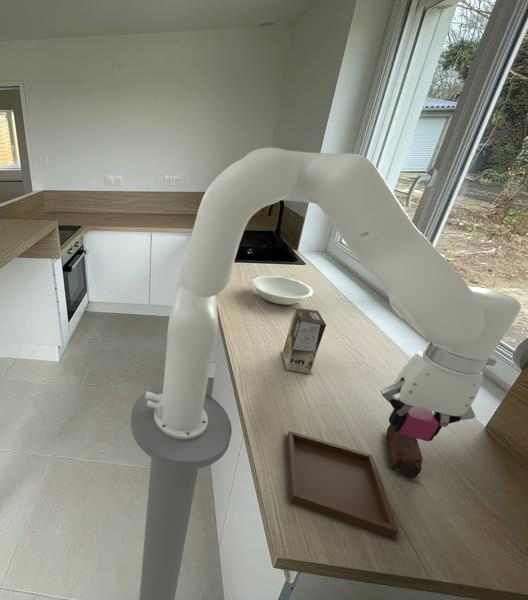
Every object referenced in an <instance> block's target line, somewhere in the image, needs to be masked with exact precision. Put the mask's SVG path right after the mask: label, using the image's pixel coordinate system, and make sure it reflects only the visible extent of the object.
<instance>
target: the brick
mask: <svg viewBox="0 0 528 600" xmlns="http://www.w3.org/2000/svg"><path fill="white" fill-rule="evenodd" d="M385 438H386V446H387V447H386V448H387V452H388V457H389V463H390V468H391V469H392V470H393V471H396V472H399V473H402V474H404V475H407V476H408V477H409V478H411V479H415V478H418V475H419V474H420V473H421V472H422V463H423V461H424V459H423V455H422V451H421V449H420V446H419V445H420V444H419V442H418V439H417V438H413V437H410V436H406V435H402V434H400V432H399V431H398V432H396V431H394V430H393V427H392V425H391V424H390V423H389V425H388V427H387V429H386V436H385Z"/></svg>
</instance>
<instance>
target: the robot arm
mask: <svg viewBox="0 0 528 600" xmlns="http://www.w3.org/2000/svg"><path fill="white" fill-rule="evenodd" d="M281 201H289V202H297V203H298V202H299V203H309V204H315V205H317V206H318V207H319V208H320V210H321V211H322V212H323V214H324V216H326V218H327V219H328V221H329V222H330V223H331V225H332V226H333V227H334V229H335V230H336V231H337V234H339V236H340V237H341V239H342V240H343V241H344V243H345V244H346V246H347V247H348V249H349V250H350V251H351V253H352V254H353V256H354V257H355V258H356V259H357V260H358V261H359V263H360V264H361V265H362V267H364V268H365V269H366V270H367V271H368V272H370V274H372V275H373V276H374V277H376V278H377V279H378V280H379V281H380V282H382V284H383V285H384V286H386V288H388V289H389V290H390V292H389V294H388V295H389V296H388V301H389V304H390V306H391V308H392V309H393V311H394V312H395V313H396V314H397V315H398V316H399V317H401V318H402V319H403V320H404V321H405V322H406V323H408V324H409V325H410V326H411V327H412V328H414V330H416V331H417V332H418V333H420V335H421V336H423V338H424V339H426V340H427V341H428V343H427V345H426V347H425V349H424V350H423V351H421V350H418V351H417V352H416V353H415V354H414V355H412V357H411V358H410V359H408V361H407V362H406V364H405V365H404V366H403V368H402V369H401V371H399V373H398V375H397V377H396V378H395V380H394V381H393V384H391V385H389V386H387V387H384V388H382V389H381V390H380V393H381V395H382V397H383V398H384V399H385V400H386V401H387V402H388V403H389V404H390V405H391V406H392V408H393V410H392V411H391V414H390V415H389V417H388V423H389V425H390V424H391V425H392V427H393V430H394V431H396V432H398V431H399V430H400V429H401V427H402V425H403V423H404V422H405V420H406V416H405V414H406V413H407V412H408V411H409V410H410V409H412V408H413V407H414V406H415V407H419V408H423V409H427V410H431V412H433V415H434V416H435V418H436V420H437V421H438V423H439V426H438V428H437V429H436V431H435V432H434V434H433V436H432V437H431V439H430V440H429V442H433V440H434V438H435V437H436V436H438V435H439V432H440V431H441V429H442V428H446V427H448V426H449V425H450V424H454V423H457V422H460V421H461V420H462V421H465V420H471V419H475V418H476V413H475V412H474V410H473V407H472V404H473V402H475V399H476V398H477V395H478V393H479V391H480V388H481V385H482V382H483V378H484V371H483V370H484V369H485V367H486V366H493V367H494V366H495V365H496V363H497V359H496V358H495V357H491V356H492V355H493V353H494V352H495V351H496V349H497V347H498V346H499V344H500V343H501V341H502V340H503V338H504V337H505V335H506V334H507V332H508V330H509V329H510V327H511V326H512V324H513V323H514V321H515V320H516V318H518V316H519V313H520V311H521V308H522V306H521V303H520V301H518V299H517V298H515V297H514V296H511V295H509V294H507V293H504V292H501V291H498V290H493V289H489V288H485V287H478V286H477V287H476V286H473V287H471V286H468V284H467V283H466V282H465V279H463V278H462V276H461V274H459V273H458V271H457V270H456V269H455V268H454V267H453V266H452V265H451V264H450V263H449V261H448V260H447V259H446V258H445V257H444V256H443V255H442V254H441V253H440V252H439V251H438V250H437V248H436V247H435V246H434V245H433V244H432V243H431V241H430V240H429V239H428V238H427V237H426V236H425V235H424V234H423V233H422V232H421V231H420V230H419V228H417V226H416V225H415V224H414V222H413V221H412V219H411V218H410V216H409V215H408V213H407V212H406V210H405V209H404V207H403V206H402V204H401V203H400V201H399V200H398V198H397V197H396V195H395V194H394V192H393V191H392V189H391V187H390V186H389V184H388V182H387V181H386V180H385V178H384V177H383V175H382V174H381V172H380V170H379V169H378V167H376V165H375V164H374V163H373V162H372V161H371V160H370V159H369V158H367V157H365V156H363V155H361V154H356V153H341V152H340V153H339V152H338V153H336V152H335V153H330V152H309V151H298V150H287V149H283V148H281V147H273V146H272V147H261V148H257V149H253V150H252V151H250V152H249V153H247V154H246V155H245V156H244V157H243V158H240V159H239V160H237V161H235V162H234V163H231V164H229V166H227V167H226V168H225V169H224V170H223V171H222V172H221V173H219V174H218V175H217V176H216V177H215V178H214V179H213V180H212V181H211V183H210V185H209V186H208V187H207V189H206V190H205V193H204V195H203V196H202V198H201V201H200V204H199V207H198V210H197V214H196V216H195V218H196V219H195V221H194V225H193V228H192V232H191V236H190V239H189V244H188V245H187V247H186V248H185V251H184V254H183V258H182V261H181V268H180V270H179V276H178V280H177V284H176V289H175V294H174V296H173V297H174V298H173V302H172V306H171V309H170V313H169V318H168V323H167V334H166V350H165V351H166V352H165V353H166V354H165V364H164V374H163V375H164V376H163V385H162V386H163V394H159V395H156V394H154V393H151V392H148V390H146V391H145V392H146V394H145V399H147V400H150V401H147V406H148V407H151V408H155V411H154V419H155V422H156V424H157V426H158V427H159V428H160V429H161V430H162V431H163V432H164V433H165V434H167V435H169V436H171V437H174V438H177V439H193V438H196V437H198V436H200V435H201V434H202V433H204V431H205V430H206V427H207V423H208V417H207V414H206V412H205V410H204V409H203V406H204V400H205V394H207V387H208V382H209V377H210V369H211V364H212V357H213V353H214V349H215V344H216V342H217V337H218V332H219V331H218V330H219V316H218V315H219V314H218V313H219V312H218V300H219V296H220V293H221V292H222V291H224V289H225V288H226V287H227V285H228V284H229V282H230V279H231V276H232V272H233V268H234V264H235V260H236V258H237V257H236V256H237V253H238V250H239V248H240V243H241V241H242V238H243V235H244V232H245V229H246V227H247V224H248V223H249V221H250V220H251V218H252V217H253V216H254V215H255V214H256V213H258V212H259V211H260V210H261V209H263V208H265V207H268V206H270V205H274V204H276V203H279V202H281ZM397 394H399V397H398V398H397V397H396V396H395V395H397ZM152 401H155V402H157V403H154V402H152Z"/></svg>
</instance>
